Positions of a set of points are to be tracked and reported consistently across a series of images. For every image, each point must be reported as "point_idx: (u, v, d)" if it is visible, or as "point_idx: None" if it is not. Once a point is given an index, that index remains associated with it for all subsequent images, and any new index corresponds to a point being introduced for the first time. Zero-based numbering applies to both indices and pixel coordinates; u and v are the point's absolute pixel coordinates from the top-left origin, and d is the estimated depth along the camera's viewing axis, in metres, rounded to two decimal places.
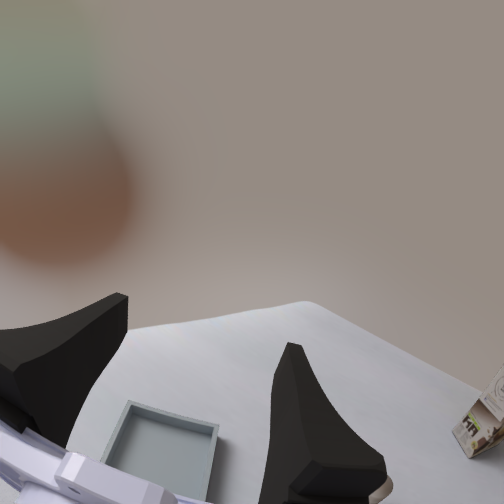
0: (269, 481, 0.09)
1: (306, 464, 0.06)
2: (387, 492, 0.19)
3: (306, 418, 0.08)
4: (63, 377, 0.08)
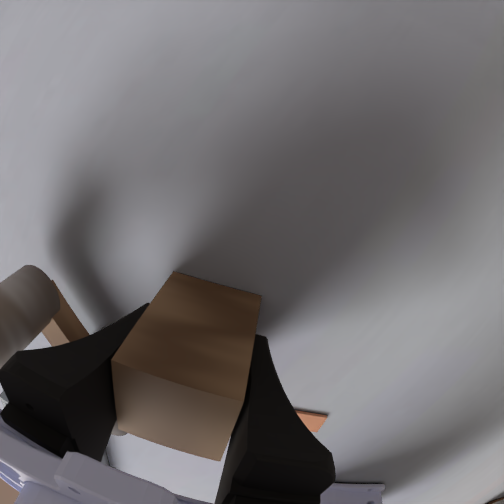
0: (225, 473, 0.09)
1: (243, 454, 0.06)
2: None
3: (254, 408, 0.08)
4: (102, 395, 0.08)
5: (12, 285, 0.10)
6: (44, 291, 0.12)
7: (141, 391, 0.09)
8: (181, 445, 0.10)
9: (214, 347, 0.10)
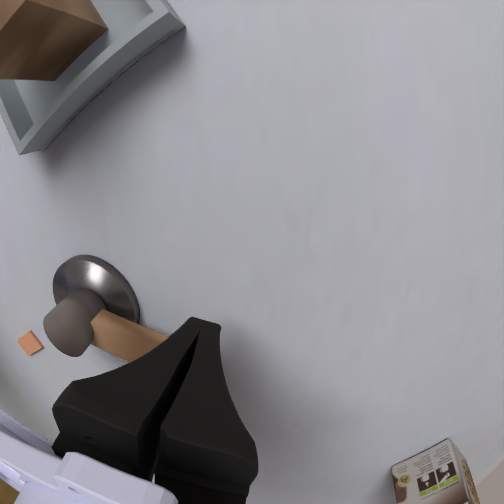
0: None
1: (160, 431, 0.06)
2: None
3: (186, 390, 0.08)
4: (161, 418, 0.08)
5: None
6: None
7: (3, 7, 0.05)
8: None
9: (15, 58, 0.08)
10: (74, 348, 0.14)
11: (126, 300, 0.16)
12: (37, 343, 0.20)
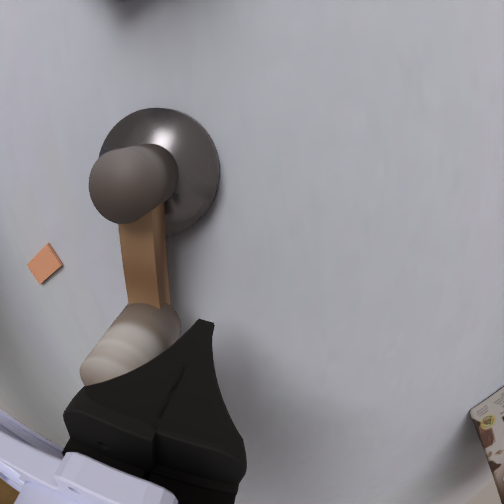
0: None
1: None
2: (86, 379, 0.11)
3: (176, 387, 0.08)
4: None
5: None
6: None
7: None
8: None
9: None
10: (109, 206, 0.11)
11: (209, 154, 0.13)
12: (55, 260, 0.16)
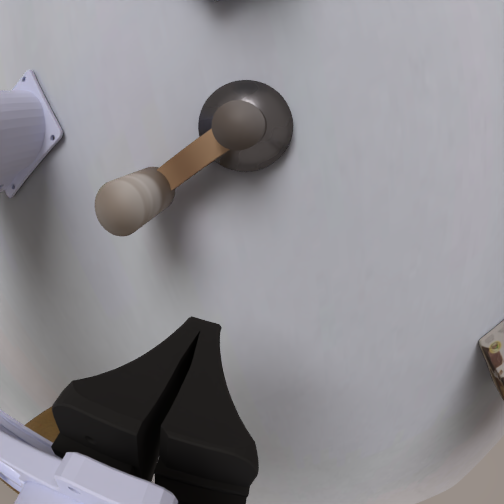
0: None
1: (161, 431, 0.06)
2: (106, 189, 0.15)
3: (186, 390, 0.08)
4: (161, 418, 0.08)
5: None
6: None
7: None
8: None
9: None
10: (220, 125, 0.16)
11: (288, 114, 0.18)
12: None
